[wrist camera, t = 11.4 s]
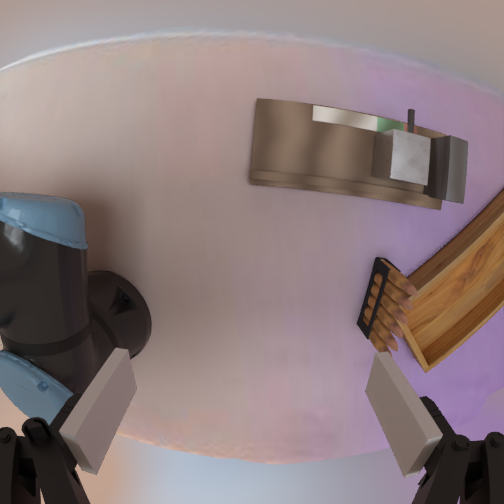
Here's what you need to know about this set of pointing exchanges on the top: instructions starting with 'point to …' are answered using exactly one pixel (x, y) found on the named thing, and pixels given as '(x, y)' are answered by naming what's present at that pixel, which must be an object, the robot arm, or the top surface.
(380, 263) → the ammunition clip
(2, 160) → the top surface
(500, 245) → the tray
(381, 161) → the cube with dark rod
